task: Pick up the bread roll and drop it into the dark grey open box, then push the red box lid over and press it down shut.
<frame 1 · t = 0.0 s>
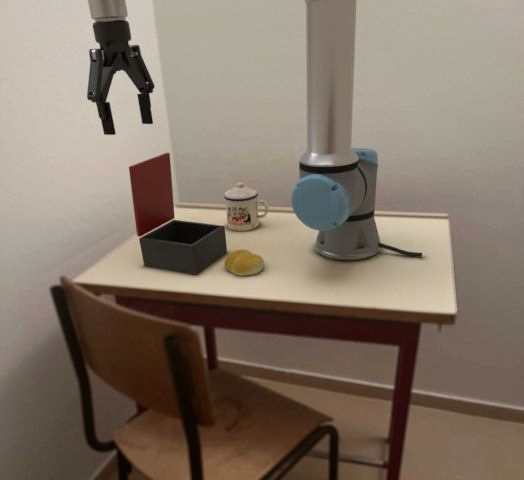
hand: (129, 129, 119), 28 cm above the table, tool pointing down, fingers open, 13 cm apart
red box lid: (153, 194, 119), point 15 cm above the table, hinge at 85.0°
bread roll: (244, 269, 118), on the table
teacup with lid: (248, 226, 142), on the table
dark grey open box: (186, 259, 124), on the table
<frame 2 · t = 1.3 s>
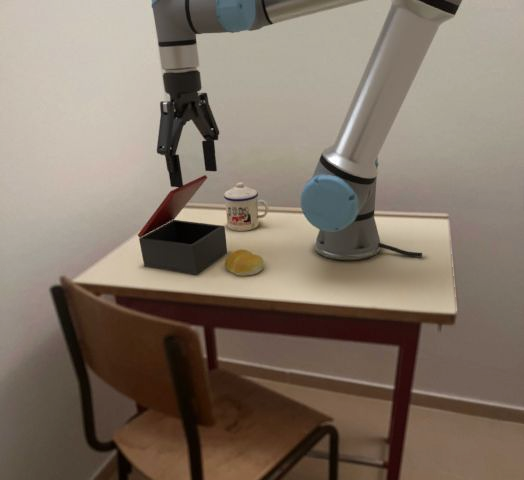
hand: (194, 178, 115), 19 cm above the table, tool pointing down, fingers open, 13 cm apart
red box lid: (172, 206, 118), point 13 cm above the table, hinge at 44.0°, touching gripper
everything else where it was.
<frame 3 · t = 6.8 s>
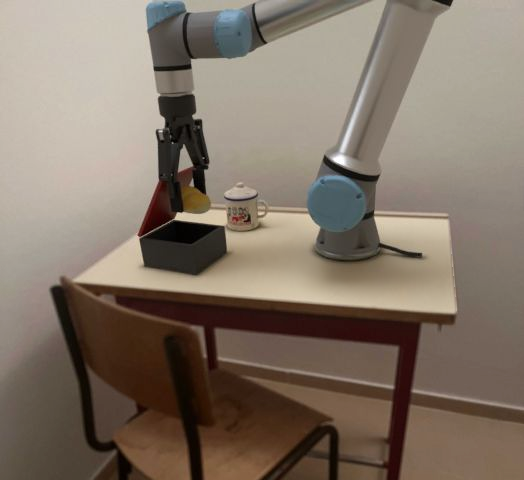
hand: (189, 205, 116), 13 cm above the table, tool pointing down, fingers closed on bread roll, 9 cm apart
red box lid: (167, 201, 118), point 14 cm above the table, hinge at 56.1°, touching gripper
bread roll: (190, 207, 116), point 13 cm above the table, touching gripper
everything else where it was.
when the fingers open (13 cm above the table, at t = 7.0 s): bread roll drops 11 cm, resting on dark grey open box.
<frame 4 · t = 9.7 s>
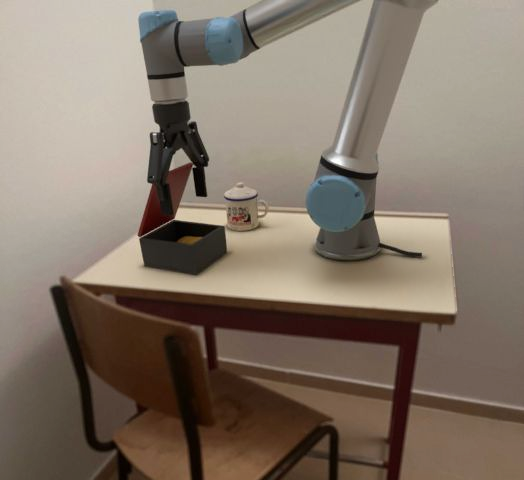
hand: (185, 205, 116), 13 cm above the table, tool pointing down, fingers open, 13 cm apart
red box lid: (165, 199, 118), point 14 cm above the table, hinge at 60.8°, touching gripper
bread roll: (193, 253, 123), point 2 cm above the table, touching dark grey open box
everything else where it was.
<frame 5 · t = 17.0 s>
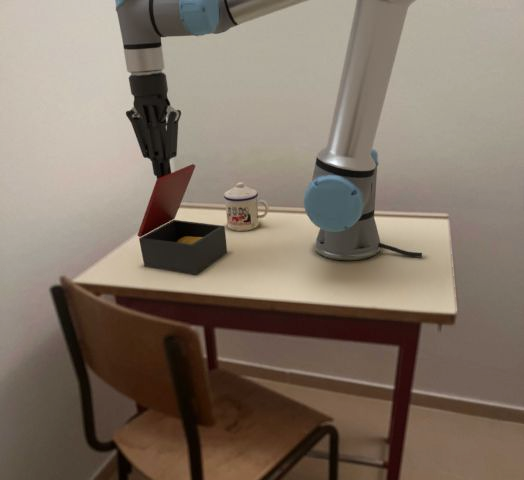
hand: (165, 190, 117), 16 cm above the table, tool pointing down, fingers closed
red box lid: (166, 200, 118), point 14 cm above the table, hinge at 58.0°, touching gripper
everything else where it was.
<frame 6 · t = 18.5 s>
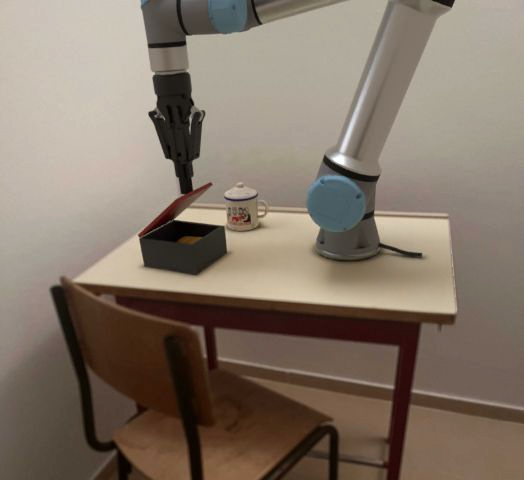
hand: (187, 192, 114), 16 cm above the table, tool pointing down, fingers closed
red box lid: (175, 209, 118), point 12 cm above the table, hinge at 36.9°
everything else where it was.
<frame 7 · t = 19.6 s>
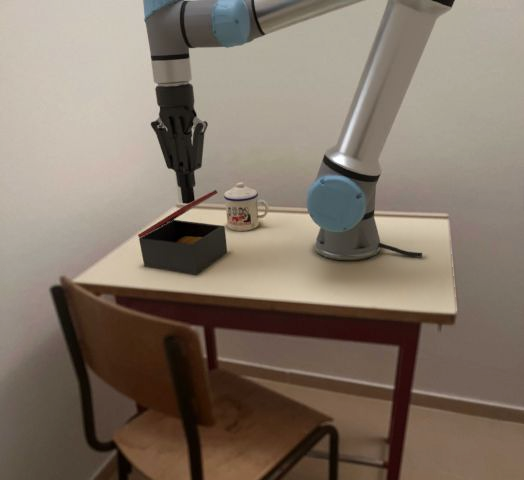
hand: (188, 201, 115), 14 cm above the table, tool pointing down, fingers closed
red box lid: (177, 213, 118), point 11 cm above the table, hinge at 29.2°, touching gripper
everything else where it was.
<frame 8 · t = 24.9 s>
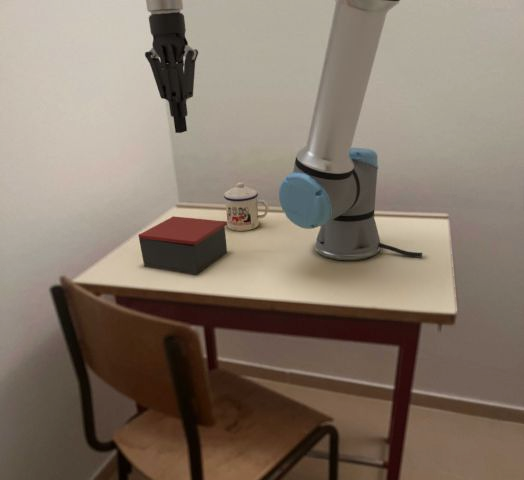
hand: (181, 131, 122), 26 cm above the table, tool pointing down, fingers closed
red box lid: (183, 229, 120), point 8 cm above the table, hinge at 1.2°
everything else where it was.
at the end: bread roll inside the target area in the dark grey open box (2.0 cm from its centre), point 1.7 cm above the dark grey open box's base; red box lid at +1° (first picture: +85°) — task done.
